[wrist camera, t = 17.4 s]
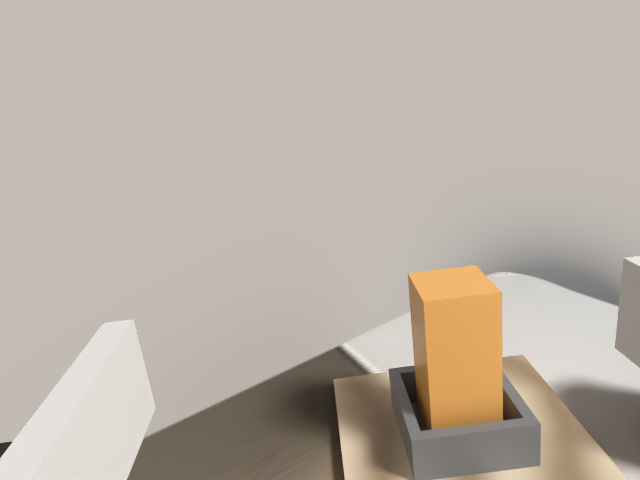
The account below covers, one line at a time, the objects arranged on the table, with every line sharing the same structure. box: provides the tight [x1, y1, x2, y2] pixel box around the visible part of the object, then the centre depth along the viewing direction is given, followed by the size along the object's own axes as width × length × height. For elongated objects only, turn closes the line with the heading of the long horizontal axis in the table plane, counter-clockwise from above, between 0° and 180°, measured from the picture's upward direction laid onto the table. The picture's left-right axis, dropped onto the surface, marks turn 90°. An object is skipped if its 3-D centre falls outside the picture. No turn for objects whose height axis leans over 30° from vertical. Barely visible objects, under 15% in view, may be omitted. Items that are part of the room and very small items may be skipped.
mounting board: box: [333, 355, 628, 480], centre depth 37 cm, size 18×18×1 cm
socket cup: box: [389, 366, 541, 480], centre depth 36 cm, size 9×9×3 cm
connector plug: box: [408, 265, 503, 431], centre depth 35 cm, size 5×5×12 cm
